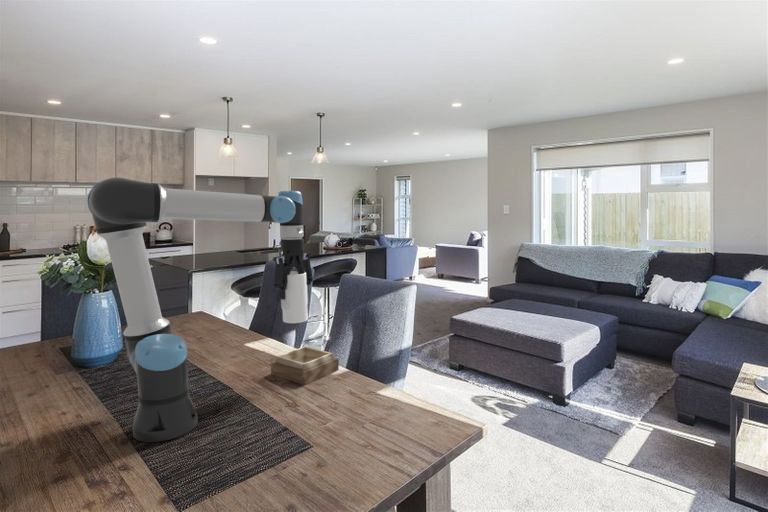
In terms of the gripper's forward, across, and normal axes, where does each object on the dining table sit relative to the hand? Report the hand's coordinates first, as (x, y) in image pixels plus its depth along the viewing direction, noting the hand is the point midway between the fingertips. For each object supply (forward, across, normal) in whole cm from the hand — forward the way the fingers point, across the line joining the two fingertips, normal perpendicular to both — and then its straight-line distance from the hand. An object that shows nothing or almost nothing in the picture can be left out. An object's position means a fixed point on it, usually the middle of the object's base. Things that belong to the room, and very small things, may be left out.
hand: (295, 306), depth 149 cm
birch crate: (+23, +2, -2) cm, 23 cm away
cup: (+5, 0, 0) cm, 5 cm away
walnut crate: (+24, +2, -2) cm, 24 cm away
